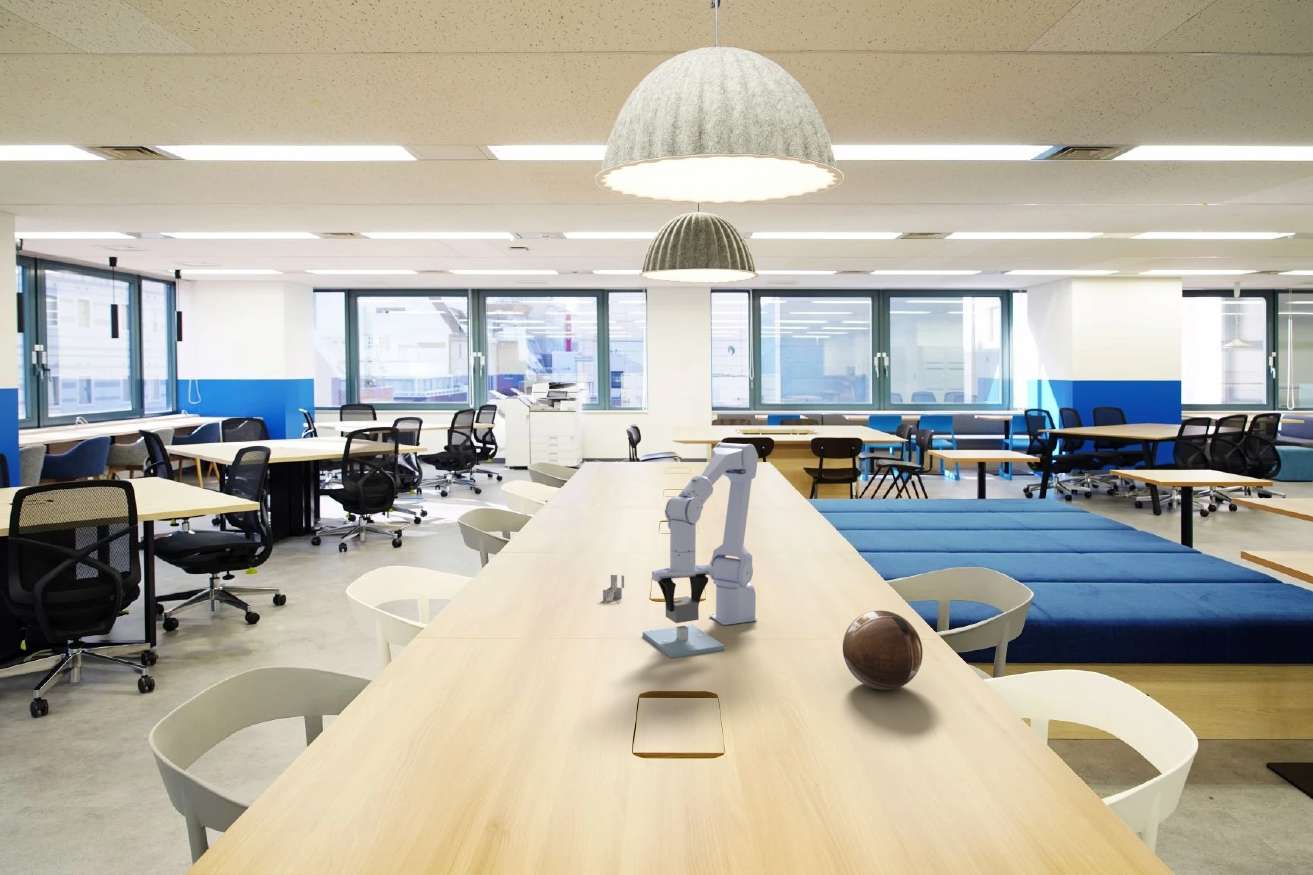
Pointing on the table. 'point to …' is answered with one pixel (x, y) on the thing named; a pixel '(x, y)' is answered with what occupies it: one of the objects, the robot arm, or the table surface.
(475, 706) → the table surface
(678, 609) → the grey drawer cabinet
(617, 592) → the architectural model
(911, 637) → the wooden sphere
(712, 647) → the plate
